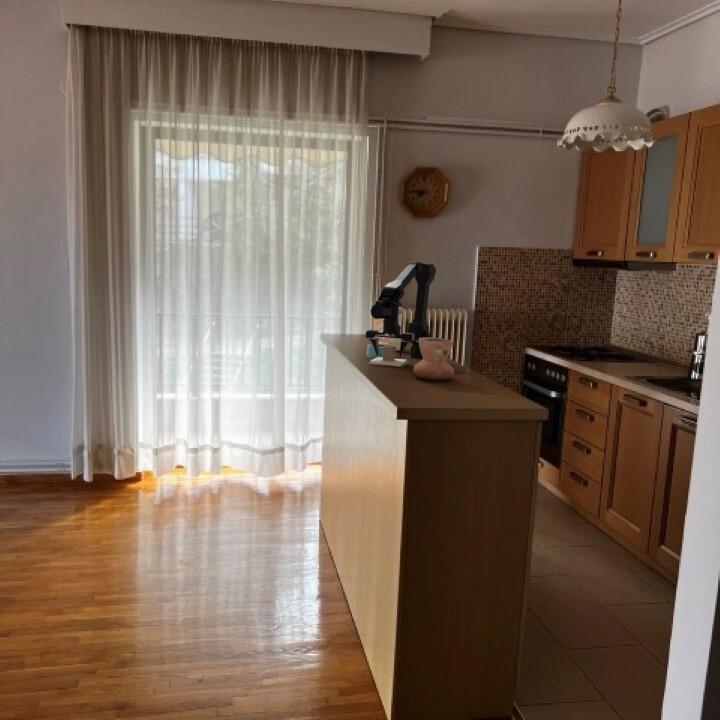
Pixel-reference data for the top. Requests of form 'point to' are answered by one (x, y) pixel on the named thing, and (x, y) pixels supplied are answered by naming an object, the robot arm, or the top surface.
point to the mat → (390, 365)
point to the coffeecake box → (389, 341)
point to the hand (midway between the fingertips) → (388, 357)
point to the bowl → (371, 350)
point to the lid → (388, 357)
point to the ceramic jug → (434, 359)
